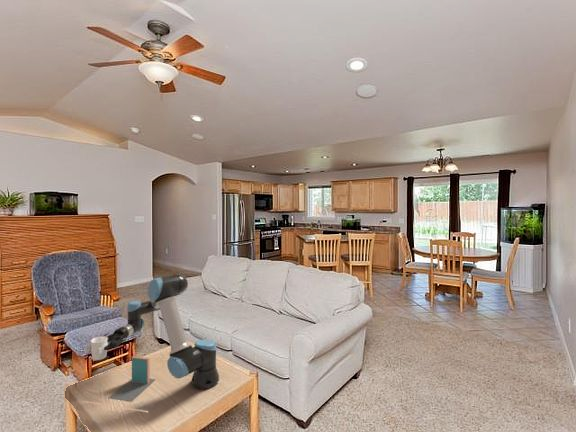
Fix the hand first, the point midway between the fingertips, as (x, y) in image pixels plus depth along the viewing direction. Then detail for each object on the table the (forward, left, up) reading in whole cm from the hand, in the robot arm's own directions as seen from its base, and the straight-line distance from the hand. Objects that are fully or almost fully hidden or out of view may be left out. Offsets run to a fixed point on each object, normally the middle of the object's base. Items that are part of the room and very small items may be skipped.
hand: (91, 350), depth 161 cm
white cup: (0, -5, -6) cm, 8 cm away
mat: (-18, -9, -23) cm, 31 cm away
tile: (-18, -15, -22) cm, 32 cm away
